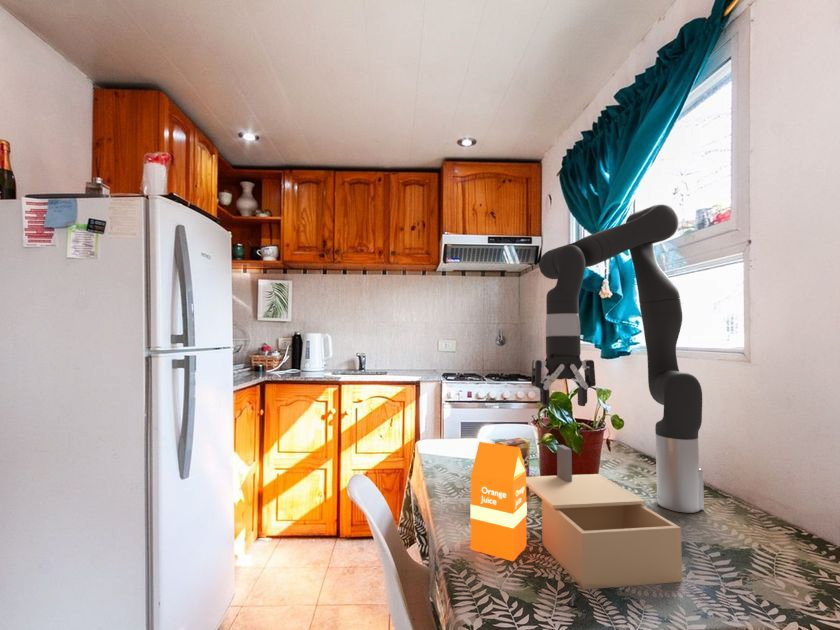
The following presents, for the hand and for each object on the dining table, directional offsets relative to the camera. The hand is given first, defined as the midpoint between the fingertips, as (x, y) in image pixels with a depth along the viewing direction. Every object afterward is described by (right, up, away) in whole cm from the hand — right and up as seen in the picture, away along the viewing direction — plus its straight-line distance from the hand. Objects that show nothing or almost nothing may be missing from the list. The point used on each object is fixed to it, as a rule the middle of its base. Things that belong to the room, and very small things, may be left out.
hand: (563, 406), depth 99 cm
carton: (+2, -25, -18) cm, 31 cm away
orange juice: (-17, -26, -12) cm, 33 cm away
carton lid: (+1, -16, -7) cm, 18 cm away
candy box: (-9, -27, +12) cm, 31 cm away
